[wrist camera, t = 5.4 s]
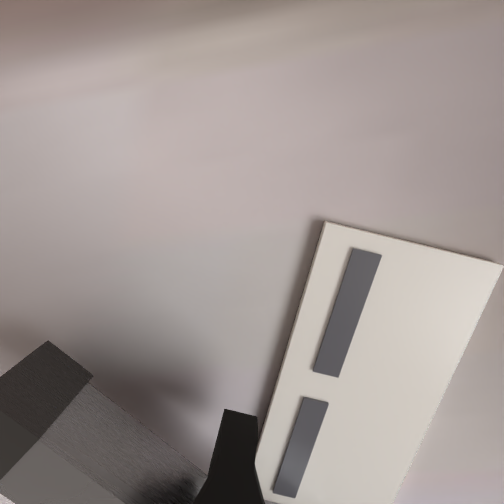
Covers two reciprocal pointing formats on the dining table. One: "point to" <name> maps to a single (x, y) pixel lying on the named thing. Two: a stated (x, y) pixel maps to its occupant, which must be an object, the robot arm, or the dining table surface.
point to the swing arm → (80, 442)
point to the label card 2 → (386, 316)
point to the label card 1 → (335, 446)
